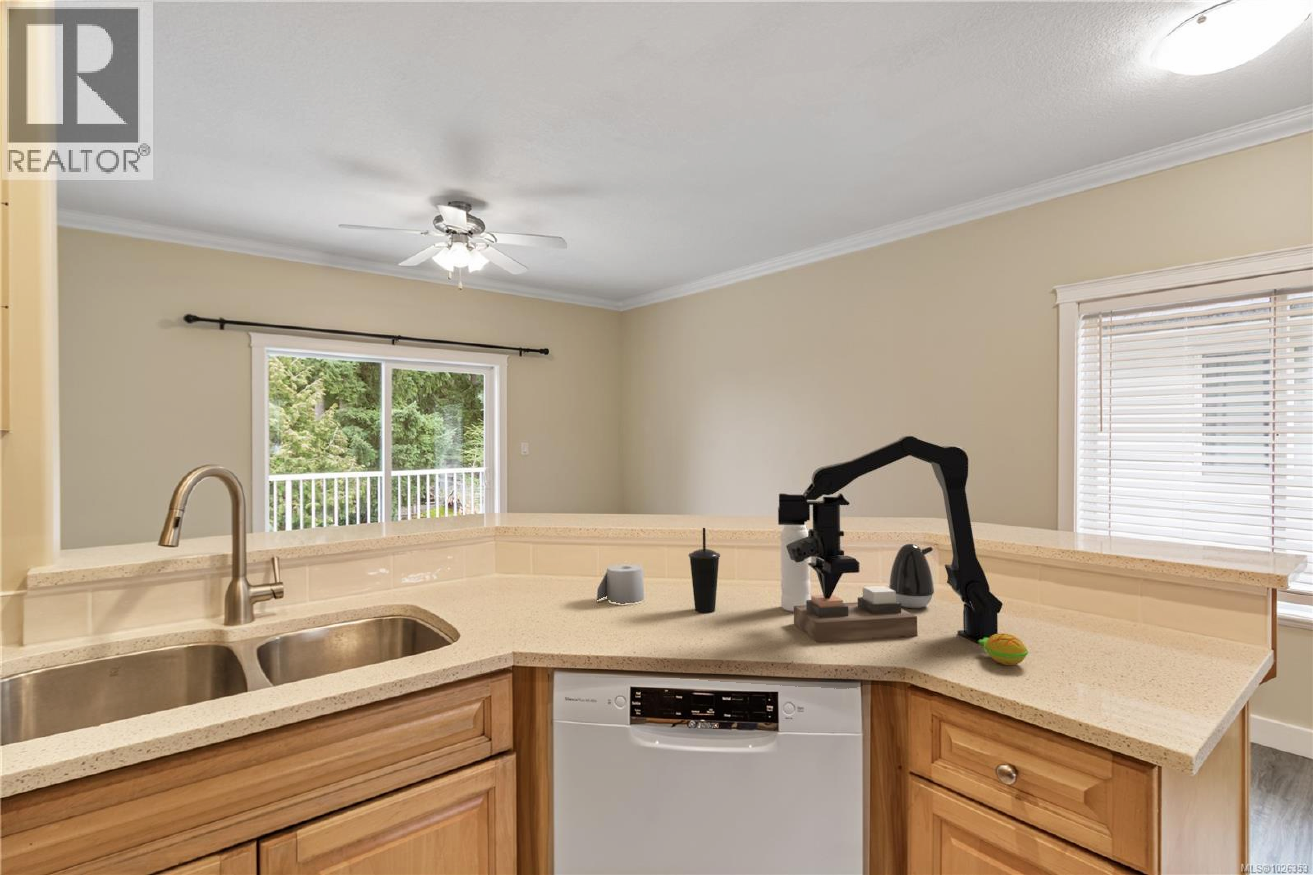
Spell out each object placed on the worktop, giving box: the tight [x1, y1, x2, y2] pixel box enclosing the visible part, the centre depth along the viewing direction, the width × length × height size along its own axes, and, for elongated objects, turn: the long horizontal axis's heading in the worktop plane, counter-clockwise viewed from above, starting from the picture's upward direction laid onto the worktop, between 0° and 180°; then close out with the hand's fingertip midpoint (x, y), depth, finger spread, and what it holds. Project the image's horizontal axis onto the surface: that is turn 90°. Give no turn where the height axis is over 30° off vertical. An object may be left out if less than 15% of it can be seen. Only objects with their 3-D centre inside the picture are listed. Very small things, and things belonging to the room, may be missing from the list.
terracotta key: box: [810, 593, 844, 607], centre depth 134 cm, size 5×5×3 cm
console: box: [793, 596, 918, 643], centre depth 135 cm, size 13×22×6 cm, turn 99°
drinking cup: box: [688, 527, 721, 614], centre depth 152 cm, size 8×8×20 cm
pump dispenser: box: [888, 543, 935, 609], centre depth 154 cm, size 10×10×15 cm
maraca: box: [977, 632, 1029, 666], centre depth 115 cm, size 7×10×5 cm
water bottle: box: [779, 524, 812, 613], centre depth 152 cm, size 7×7×25 cm
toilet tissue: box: [596, 563, 645, 604], centre depth 161 cm, size 9×13×9 cm
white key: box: [862, 585, 896, 604], centre depth 136 cm, size 5×5×3 cm
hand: (827, 598), depth 134 cm, fingers closed, pressing on terracotta key
